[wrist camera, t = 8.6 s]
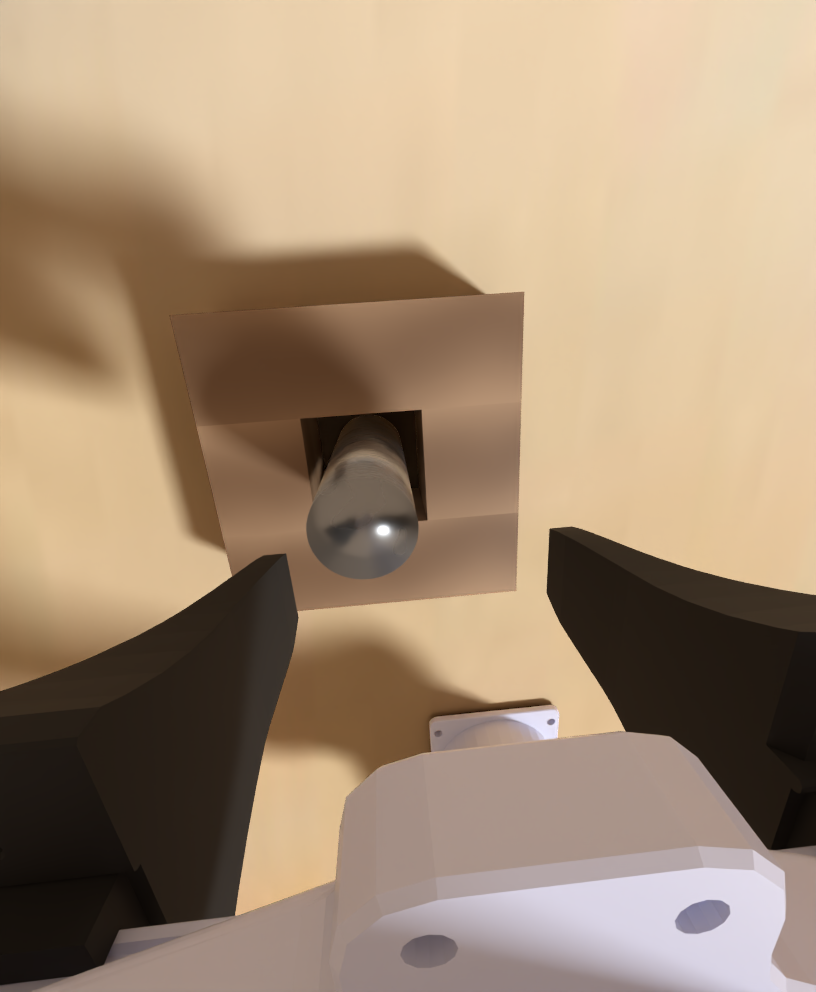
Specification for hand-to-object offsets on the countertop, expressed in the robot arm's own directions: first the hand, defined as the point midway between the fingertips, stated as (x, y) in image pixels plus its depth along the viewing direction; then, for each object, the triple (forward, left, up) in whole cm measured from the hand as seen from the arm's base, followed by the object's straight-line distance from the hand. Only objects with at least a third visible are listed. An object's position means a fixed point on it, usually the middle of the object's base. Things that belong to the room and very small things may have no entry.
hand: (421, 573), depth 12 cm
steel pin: (+1, +2, -10) cm, 10 cm away
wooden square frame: (+1, +2, -10) cm, 10 cm away
